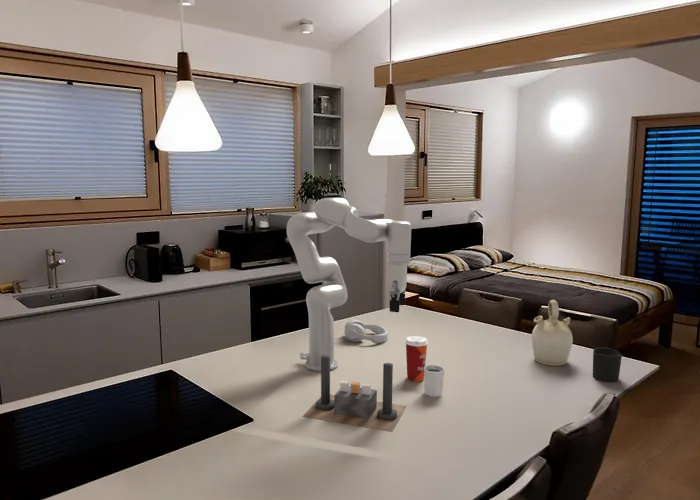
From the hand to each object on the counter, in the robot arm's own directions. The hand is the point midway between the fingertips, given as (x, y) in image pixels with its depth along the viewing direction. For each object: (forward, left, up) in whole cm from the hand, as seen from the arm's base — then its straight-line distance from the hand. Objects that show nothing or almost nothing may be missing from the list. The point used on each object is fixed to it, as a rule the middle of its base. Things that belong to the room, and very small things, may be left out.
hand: (397, 308), depth 180 cm
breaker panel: (-7, -24, -29) cm, 38 cm away
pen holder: (+70, +37, -29) cm, 84 cm away
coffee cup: (+4, +12, -29) cm, 32 cm away
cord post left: (-17, -24, -27) cm, 40 cm away
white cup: (+13, -2, -29) cm, 32 cm away
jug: (+51, +49, -29) cm, 77 cm away
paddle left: (-10, -24, -21) cm, 34 cm away
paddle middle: (-7, -24, -21) cm, 33 cm away
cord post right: (+3, -24, -27) cm, 36 cm away
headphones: (-27, +51, -29) cm, 65 cm away
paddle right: (-3, -24, -21) cm, 32 cm away
